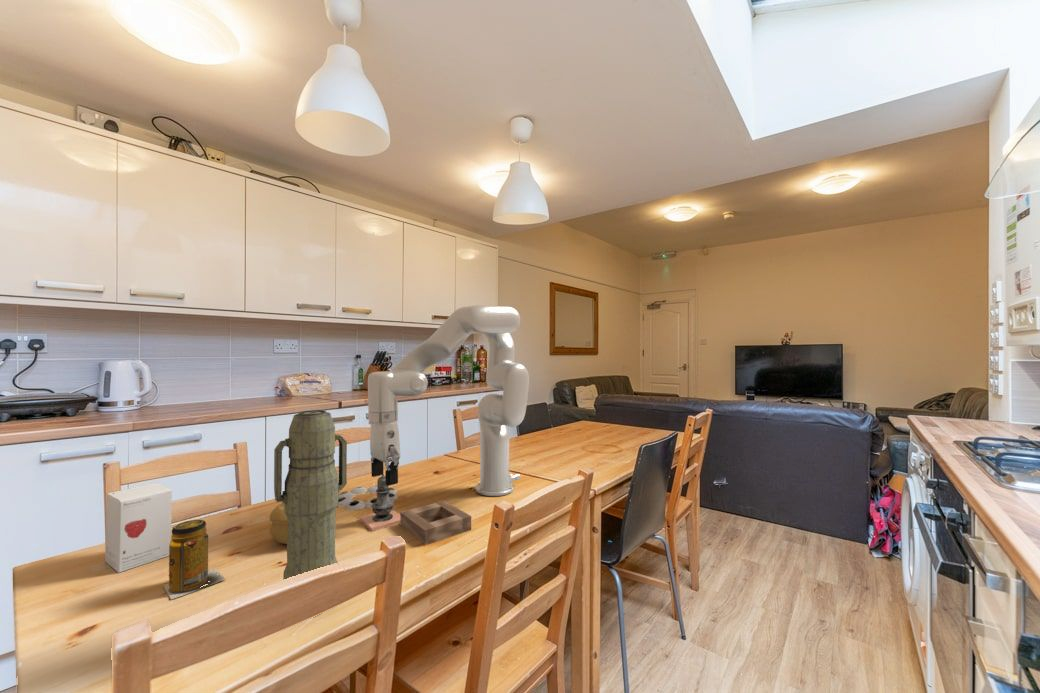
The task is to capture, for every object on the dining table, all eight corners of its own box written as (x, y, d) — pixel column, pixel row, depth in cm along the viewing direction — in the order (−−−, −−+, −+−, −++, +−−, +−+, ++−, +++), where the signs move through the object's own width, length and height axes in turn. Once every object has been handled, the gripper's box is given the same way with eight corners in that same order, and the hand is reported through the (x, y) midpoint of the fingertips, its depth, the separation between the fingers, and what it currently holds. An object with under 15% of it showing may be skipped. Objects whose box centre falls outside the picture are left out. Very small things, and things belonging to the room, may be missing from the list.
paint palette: (342, 517, 115) (342, 510, 115) (324, 497, 130) (324, 491, 130) (409, 501, 127) (409, 494, 127) (385, 484, 142) (385, 478, 142)
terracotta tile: (391, 511, 118) (391, 508, 118) (405, 521, 111) (405, 518, 111) (359, 520, 112) (359, 517, 112) (371, 531, 105) (371, 528, 105)
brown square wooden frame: (443, 512, 117) (443, 500, 117) (471, 529, 106) (471, 516, 106) (400, 525, 108) (400, 512, 108) (425, 545, 98) (425, 530, 98)
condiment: (163, 586, 81) (163, 524, 81) (215, 568, 87) (215, 511, 87) (171, 600, 76) (171, 535, 76) (225, 581, 82) (226, 521, 82)
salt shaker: (386, 523, 108) (387, 477, 108) (366, 521, 109) (367, 475, 109) (398, 514, 114) (398, 470, 114) (378, 512, 115) (379, 469, 115)
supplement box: (117, 574, 85) (118, 501, 85) (103, 562, 89) (104, 493, 89) (172, 555, 92) (173, 488, 92) (157, 545, 97) (157, 481, 97)
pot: (330, 540, 100) (330, 499, 100) (274, 556, 92) (275, 511, 92) (316, 524, 109) (316, 486, 109) (264, 537, 101) (265, 497, 101)
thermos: (354, 599, 76) (355, 411, 77) (284, 631, 68) (285, 418, 68) (333, 580, 82) (335, 406, 83) (267, 608, 74) (268, 413, 74)
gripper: (410, 419, 107) (411, 484, 108) (384, 411, 121) (385, 469, 121) (382, 423, 102) (383, 491, 103) (358, 415, 116) (359, 475, 116)
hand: (384, 479), depth 112 cm, fingers open, 9 cm apart
